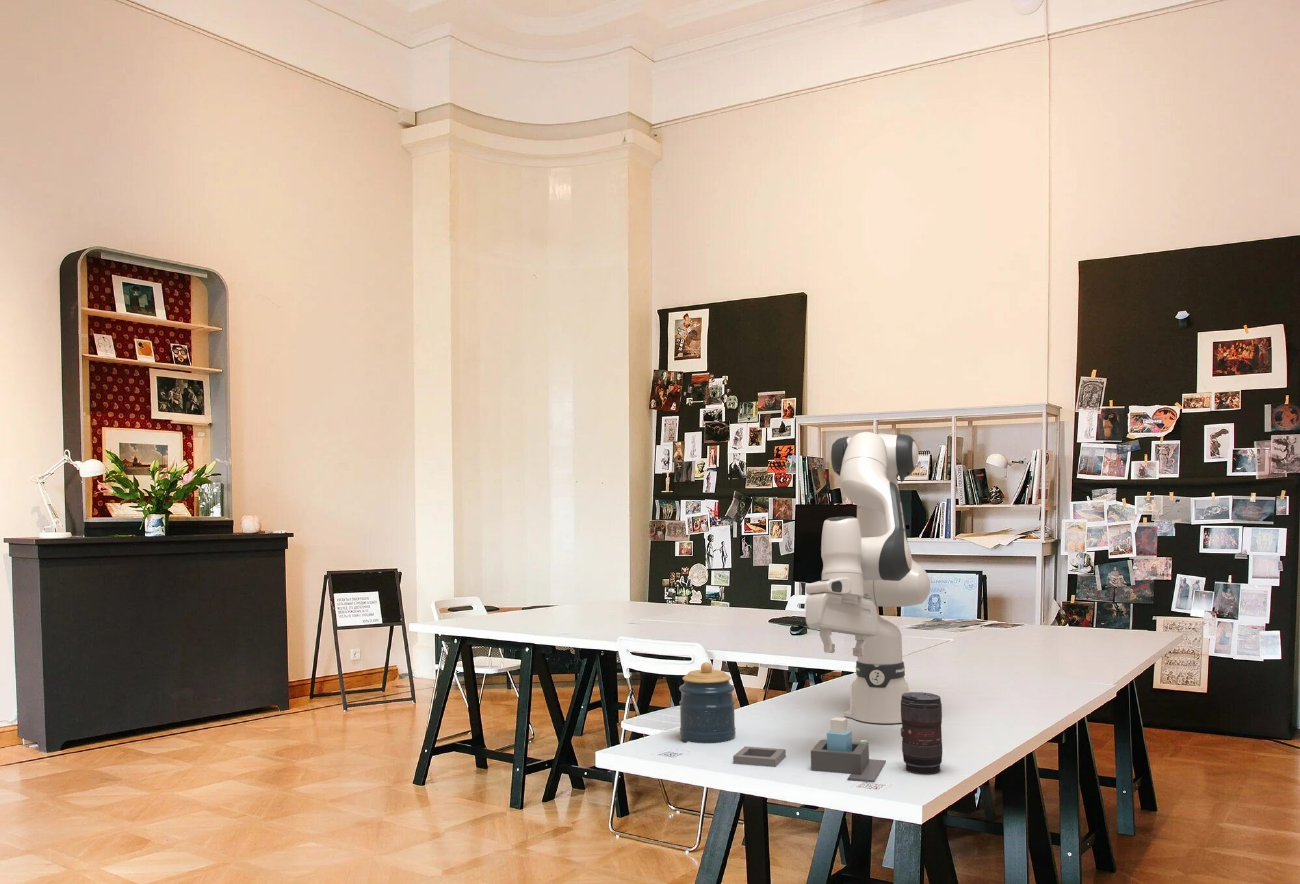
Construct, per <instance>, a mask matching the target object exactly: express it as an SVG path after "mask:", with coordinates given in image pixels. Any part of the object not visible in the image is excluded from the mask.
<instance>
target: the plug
mask: <svg viewBox="0 0 1300 884" xmlns="http://www.w3.org/2000/svg"><path fill="white" fill-rule="evenodd" d="M826 740H827V750H836V751H850V752H852V742H853V732H852V730H848V717H845V718H844V717H836V716H835V717H833V718H832V719H830V730H829V731H828V732H826Z"/></svg>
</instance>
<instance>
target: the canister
mask: <svg viewBox="0 0 1300 884" xmlns="http://www.w3.org/2000/svg"><path fill="white" fill-rule="evenodd" d="M731 679H732V677H731V676H730V675H728V674H727V673H726V672H725V671H723V670H718V669H713V666H712V664H711V663H710V662H702V664H701V665H700V669H697V670H695V669H694V670H691V671H689V672H688V673H686V674H685V675H684V676H683V677H682V680H683V681H684V683H683V684H682V685H680V686H679V687H678V690H679V691H680V692H681V699H680V701H679V707H680V709H679V710H680V712H679V714H680V715H679V716H680V718H679V720H680V727H679V731H680V732H679V734H680V739H681V740H682V741H683V742H685V743H689V742H690V743H695V744H720V743H726V742H729V741H732V740H734V739H735V737H736V725H735V723H736V721H735V703H736V701H735V700H734V697H733V692H734V691H735V686H734V685H732V684H731V683H730V680H731Z"/></svg>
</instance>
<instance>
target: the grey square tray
mask: <svg viewBox="0 0 1300 884" xmlns="http://www.w3.org/2000/svg"><path fill="white" fill-rule="evenodd" d="M786 753H787V752H786V749H785V748H773V747H772V748H770V747H759V746H747V745H746V746H743V747H742V748H741V749H740V750H739V751H738V752H736V753H735V754H734V755H732V764H734V765H742V766H744V765H745V766H754V767H755V766H756V767H758V766H759V767H769V768H770V767H771V768H777V766H779V764H781V762H782V761H783V760H784V759H785V758H786V757H787V755H786Z"/></svg>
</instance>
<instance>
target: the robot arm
mask: <svg viewBox="0 0 1300 884" xmlns="http://www.w3.org/2000/svg"><path fill="white" fill-rule="evenodd" d="M918 460H919V449H918V447H917V444H916V441H915V439H914V438H913V437H912V436H911V435H908V434H903V433H898V434H889V433H874V432H872V431H862V432H858V433H855V435H853V436H851V437H849V436H843V437H839V438H837V439H836V440H835V441H834V442H833V443H832V445H831V449H830V454H829V461H830V462H829V463H830V464H831V468H832V470H833V472H834V473H835V474H836V475H837V476H839V485H840V490H841V491H842V493H843V495H844V496H845V498H846V499H848V500H849V501H850V502H851V503H853V504H855V505H856V517H855V516H850V515H849V516H834V517H829V518H827V519H825V520H824V522H823V525H822V532H821V546H820V551H821V553H820V554H821V555H820V556H821V559H822V565H823V567H822V571H821V580H818V581H814V582H811V583H808V584H806V585H805V593H806V595H808V596H807V597H806V599H805V623H806V625H807V627H808V628H809V629H812V630H816V631H817V630H818V631H819V637H820V639H821V641H822V644H823V651H824V653H825V654H826V653H827V654H834V653H835V652H836V651H835V650H836V649H835V647H836V644H835V643H833V642H832V638H831V636H832V635H833V634H832V633H838V634H845V635H851V636H854V639H855V641H856V643H855V647H852V656H853V657H857V660H856V661H855V672H856V673H855V674H856V678H855V679H854V680H853V681H852V682H851V683H850V708H849V709H847V710H845V711H844V712H843V716H844V717H845V718H851V719H854V720H856V721H859V722H864V723H871V724H872V723H873V724H900V723H901V724H902V721H901V699H902V694H903V693H908V692H911V686H910V685H909V683H908V682H907V681H906V679H905V676H906V674H905V672H906V667H905V662H904V661H903V638H902V637H903V635H902V633H901V632H902V631H900V629H899V627H898V626H897V625H895V624H894V623H892V622H891V621H889V620H887V619H885V618H883V617H882V616H880V614H879V613H878V610H877V607H891V608H892V607H898V608H903V607H904V608H905V607H911V606H917V605H921V604H923V603H924V602H925V601H926V599H927V598H928V596H929V594H930V590H931V581H930V577H929V575H928V573H927V571H926V570H925V569H924V568H923V567H922V566H921V565H920V564H918V563H917V562H916V561H915V560H914V559H913V558H912V553H911V548H910V545H909V542H908V534H907V528H906V521H905V513H904V507H903V502H902V498H901V493H900V488H899V483H898V479H897V478H898V477H899V480H900V483H903V482H904V481H905V478H908V477H909V476H910V475H911V474H912V473H913V472H914V471H915V469H916V466H917V464H918Z"/></svg>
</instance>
